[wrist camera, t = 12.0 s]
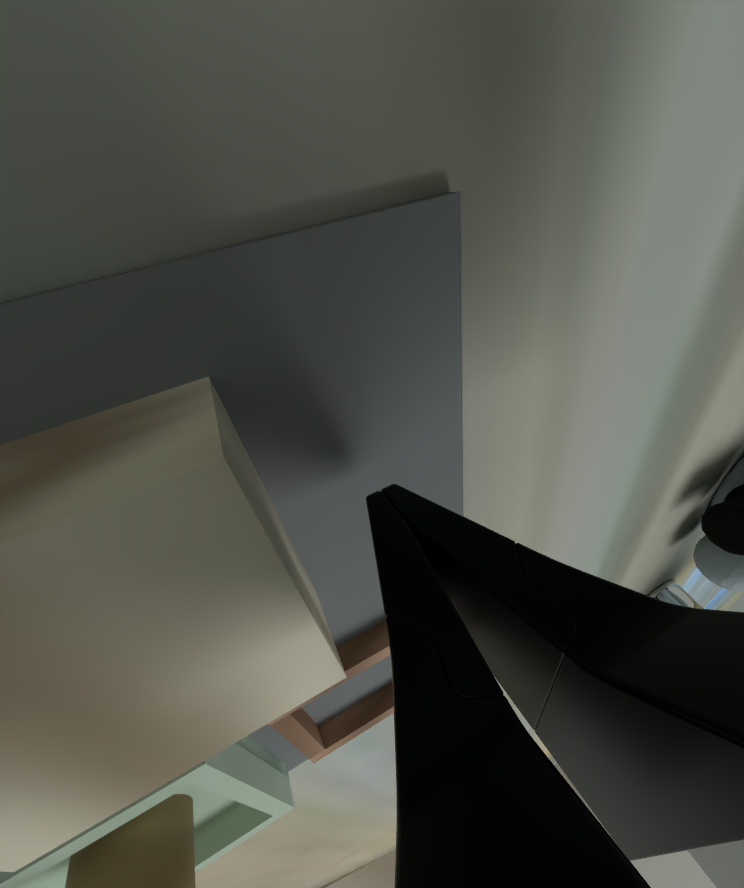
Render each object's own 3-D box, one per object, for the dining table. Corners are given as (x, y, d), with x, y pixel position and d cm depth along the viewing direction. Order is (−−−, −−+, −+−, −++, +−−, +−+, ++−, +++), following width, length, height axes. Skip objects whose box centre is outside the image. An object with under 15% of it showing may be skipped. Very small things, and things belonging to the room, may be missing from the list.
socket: (417, 601, 15) (430, 622, 15) (428, 665, 20) (438, 684, 19) (257, 691, 14) (262, 719, 13) (308, 740, 18) (314, 763, 17)
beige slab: (208, 376, 7) (223, 457, 5) (314, 587, 12) (346, 677, 10) (-346, 559, 5) (-760, 839, 3) (50, 721, 10) (13, 872, 8)
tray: (202, 703, 13) (204, 763, 11) (286, 763, 19) (294, 807, 17) (-129, 885, 10) (-175, 986, 9) (86, 887, 16) (78, 949, 15)
